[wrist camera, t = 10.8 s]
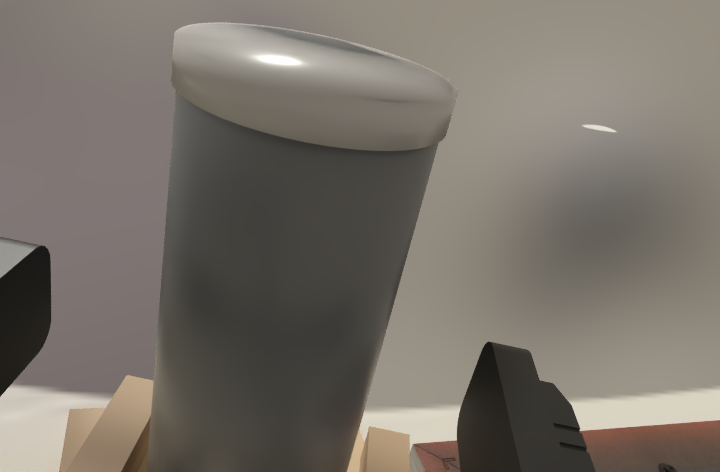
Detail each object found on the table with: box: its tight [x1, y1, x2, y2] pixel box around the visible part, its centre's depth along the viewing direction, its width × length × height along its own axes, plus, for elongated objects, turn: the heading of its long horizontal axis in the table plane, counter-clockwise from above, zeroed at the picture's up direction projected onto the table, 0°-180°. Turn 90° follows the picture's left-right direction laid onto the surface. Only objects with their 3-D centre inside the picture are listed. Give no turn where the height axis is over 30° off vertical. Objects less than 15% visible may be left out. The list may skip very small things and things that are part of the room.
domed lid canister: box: [147, 23, 458, 472], centre depth 15 cm, size 5×5×14 cm
